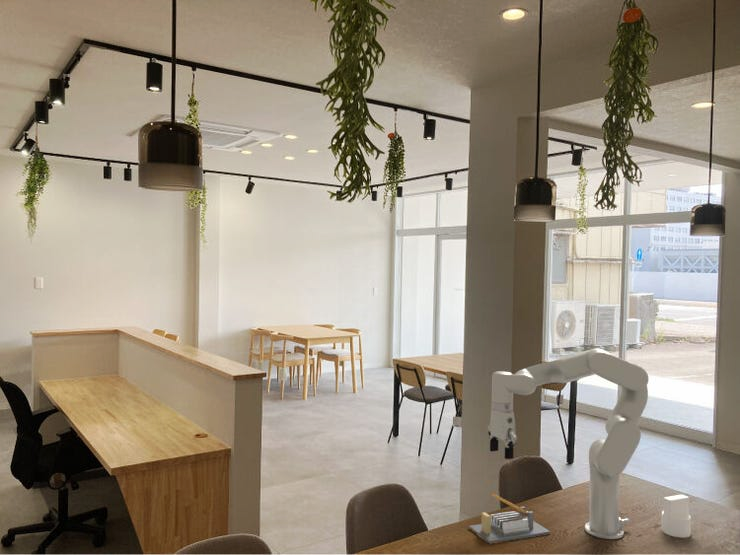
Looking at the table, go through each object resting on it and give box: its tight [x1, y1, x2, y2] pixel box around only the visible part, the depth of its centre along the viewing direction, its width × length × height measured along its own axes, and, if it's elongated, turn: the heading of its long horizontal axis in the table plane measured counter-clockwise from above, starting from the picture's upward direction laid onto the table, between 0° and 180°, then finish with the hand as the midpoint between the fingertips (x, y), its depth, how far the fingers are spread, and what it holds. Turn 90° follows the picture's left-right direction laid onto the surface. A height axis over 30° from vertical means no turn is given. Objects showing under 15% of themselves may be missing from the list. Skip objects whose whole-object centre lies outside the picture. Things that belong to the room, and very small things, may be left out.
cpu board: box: [468, 506, 551, 544], centre depth 205 cm, size 24×13×7 cm, turn 110°
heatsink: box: [490, 510, 529, 536], centre depth 205 cm, size 10×9×4 cm
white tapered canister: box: [661, 494, 692, 538], centre depth 206 cm, size 9×9×12 cm
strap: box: [491, 493, 529, 517], centre depth 206 cm, size 16×3×1 cm, turn 109°
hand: (501, 454), depth 212 cm, fingers open, 9 cm apart
